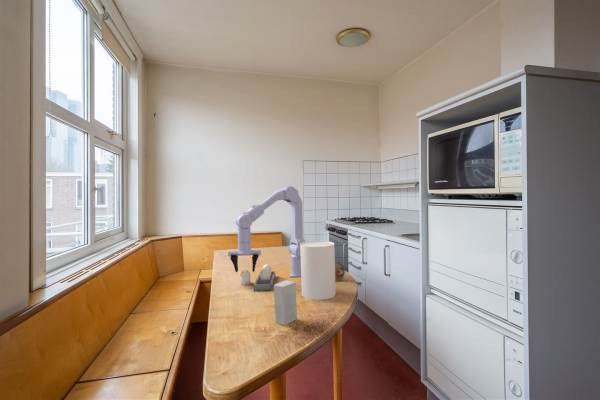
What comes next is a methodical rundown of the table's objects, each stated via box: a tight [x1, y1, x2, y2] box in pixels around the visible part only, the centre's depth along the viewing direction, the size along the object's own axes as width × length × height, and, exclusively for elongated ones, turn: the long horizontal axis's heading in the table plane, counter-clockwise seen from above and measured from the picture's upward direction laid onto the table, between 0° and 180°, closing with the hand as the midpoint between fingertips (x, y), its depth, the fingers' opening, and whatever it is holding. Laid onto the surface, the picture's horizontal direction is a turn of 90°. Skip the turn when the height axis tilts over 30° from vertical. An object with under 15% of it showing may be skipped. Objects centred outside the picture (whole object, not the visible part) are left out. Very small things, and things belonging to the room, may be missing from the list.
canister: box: [300, 240, 337, 301], centre depth 114 cm, size 14×14×20 cm
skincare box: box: [273, 279, 298, 326], centre depth 90 cm, size 6×4×12 cm
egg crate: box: [253, 263, 276, 292], centre depth 130 cm, size 7×21×7 cm, turn 0°
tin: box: [335, 261, 346, 282], centre depth 132 cm, size 15×3×8 cm, turn 73°
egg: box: [240, 269, 252, 286], centre depth 130 cm, size 4×4×6 cm
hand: (245, 271), depth 130 cm, fingers open, 7 cm apart
